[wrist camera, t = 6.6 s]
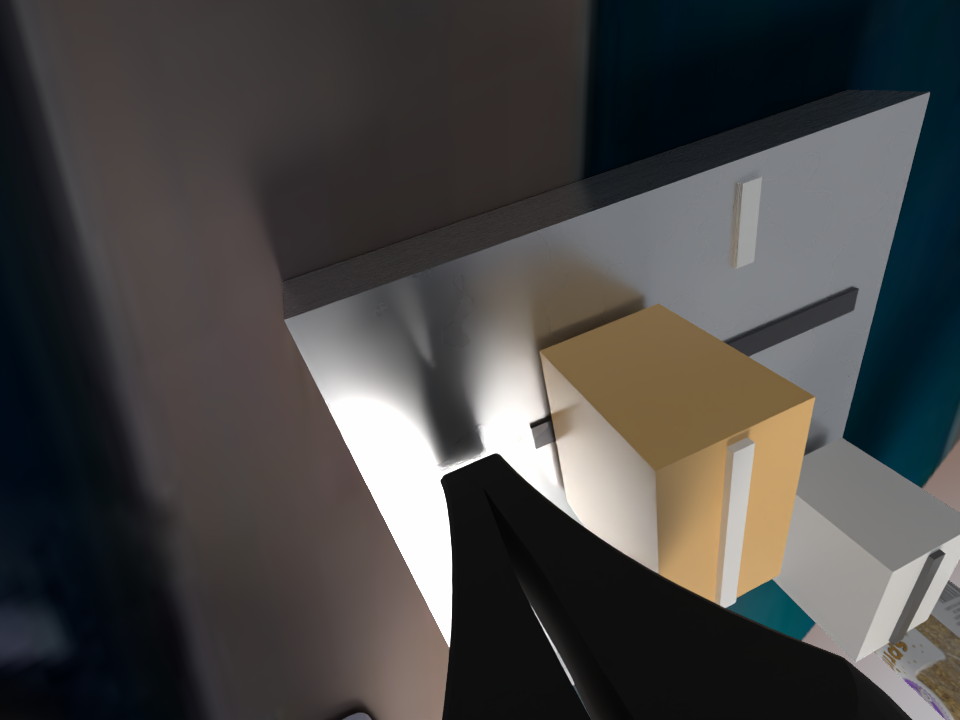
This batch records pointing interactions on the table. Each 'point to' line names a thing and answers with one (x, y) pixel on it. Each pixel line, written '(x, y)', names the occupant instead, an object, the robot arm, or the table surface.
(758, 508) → the fader knob orange
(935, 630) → the sprinkles bottle
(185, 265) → the table surface
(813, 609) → the fader knob white
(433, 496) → the fader panel
